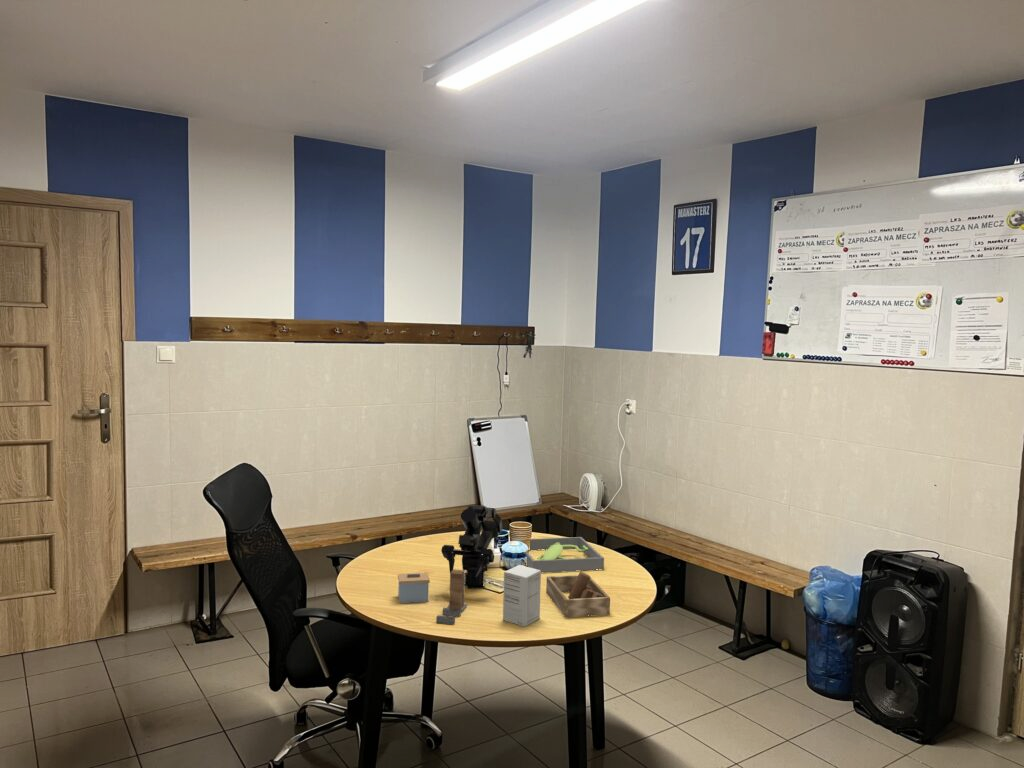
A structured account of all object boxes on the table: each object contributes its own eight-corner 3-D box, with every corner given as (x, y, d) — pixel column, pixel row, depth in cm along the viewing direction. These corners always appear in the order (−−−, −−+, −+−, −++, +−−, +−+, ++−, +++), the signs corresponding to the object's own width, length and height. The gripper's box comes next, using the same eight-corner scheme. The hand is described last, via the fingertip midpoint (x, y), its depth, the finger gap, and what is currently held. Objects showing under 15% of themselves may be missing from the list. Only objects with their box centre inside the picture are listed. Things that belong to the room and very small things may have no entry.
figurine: (592, 557, 322) (593, 544, 321) (562, 573, 299) (563, 559, 299) (555, 549, 331) (555, 536, 331) (523, 564, 309) (524, 551, 309)
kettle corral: (580, 547, 333) (581, 536, 332) (603, 569, 304) (604, 557, 303) (515, 550, 326) (515, 539, 326) (532, 573, 297) (532, 561, 297)
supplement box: (517, 611, 258) (519, 564, 256) (540, 618, 252) (542, 569, 251) (501, 620, 250) (503, 571, 248) (524, 627, 244) (526, 577, 243)
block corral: (587, 590, 280) (587, 574, 280) (609, 614, 257) (610, 597, 256) (546, 592, 277) (546, 576, 276) (564, 617, 253) (565, 600, 253)
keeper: (443, 613, 254) (443, 607, 254) (460, 615, 253) (460, 609, 253) (436, 622, 246) (436, 616, 246) (453, 624, 245) (453, 618, 245)
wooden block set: (599, 619, 259) (612, 592, 259) (578, 611, 257) (591, 584, 257) (581, 598, 277) (593, 573, 276) (561, 590, 274) (573, 565, 274)
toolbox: (426, 594, 272) (427, 570, 271) (429, 601, 264) (429, 577, 263) (397, 595, 269) (397, 571, 269) (399, 603, 262) (399, 578, 261)
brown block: (452, 604, 261) (453, 569, 260) (463, 605, 260) (464, 570, 259) (449, 608, 257) (450, 573, 256) (460, 609, 256) (461, 574, 255)
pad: (450, 604, 263) (450, 602, 263) (467, 605, 261) (467, 604, 261) (445, 610, 257) (445, 608, 257) (462, 612, 256) (462, 610, 256)
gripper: (443, 523, 271) (433, 562, 261) (493, 527, 267) (484, 567, 257) (449, 538, 279) (439, 576, 269) (497, 542, 275) (489, 581, 265)
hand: (463, 575), depth 265 cm, fingers open, 9 cm apart
